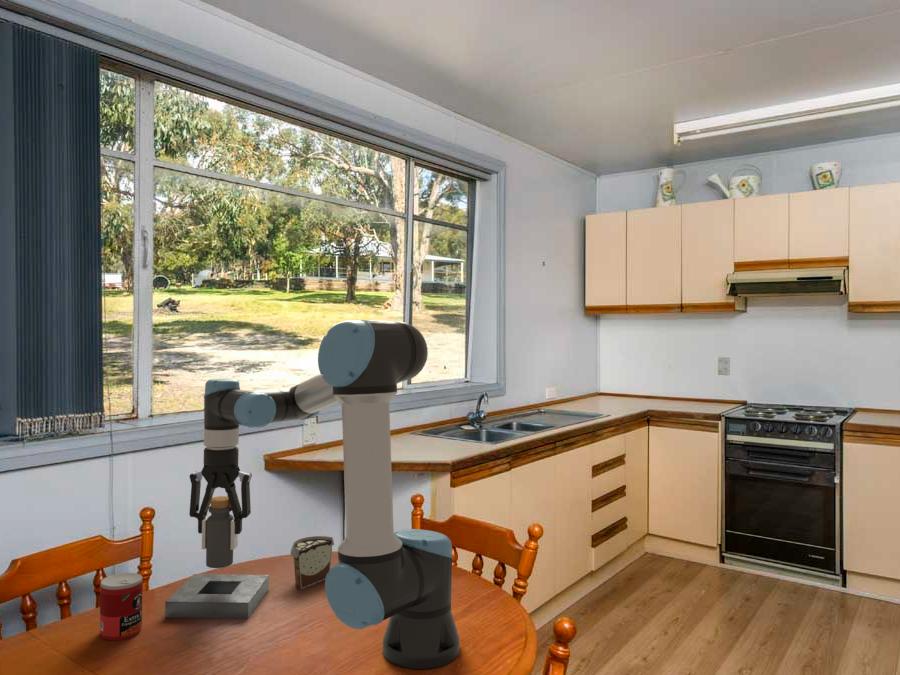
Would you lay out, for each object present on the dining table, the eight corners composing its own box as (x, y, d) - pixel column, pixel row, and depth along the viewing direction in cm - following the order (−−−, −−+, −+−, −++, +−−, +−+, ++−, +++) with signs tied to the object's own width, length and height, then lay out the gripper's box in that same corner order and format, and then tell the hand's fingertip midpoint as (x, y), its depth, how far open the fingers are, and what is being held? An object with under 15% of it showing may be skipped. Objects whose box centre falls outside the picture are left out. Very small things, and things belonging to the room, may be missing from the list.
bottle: (225, 557, 153) (226, 494, 153) (237, 564, 149) (238, 499, 149) (201, 563, 149) (202, 498, 149) (212, 570, 145) (213, 503, 145)
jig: (248, 618, 141) (248, 602, 141) (165, 617, 141) (165, 601, 141) (268, 589, 157) (268, 574, 157) (193, 588, 157) (194, 574, 157)
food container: (317, 570, 170) (317, 532, 170) (333, 576, 166) (334, 536, 166) (279, 585, 160) (279, 544, 160) (296, 591, 156) (296, 549, 156)
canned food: (125, 643, 129) (125, 588, 129) (90, 638, 131) (91, 584, 131) (150, 626, 137) (151, 574, 137) (117, 622, 138) (117, 570, 138)
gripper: (267, 444, 152) (265, 542, 153) (186, 442, 152) (185, 541, 153) (257, 450, 145) (256, 553, 145) (173, 448, 145) (171, 552, 145)
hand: (219, 547), depth 149 cm, fingers closed on bottle, 6 cm apart
